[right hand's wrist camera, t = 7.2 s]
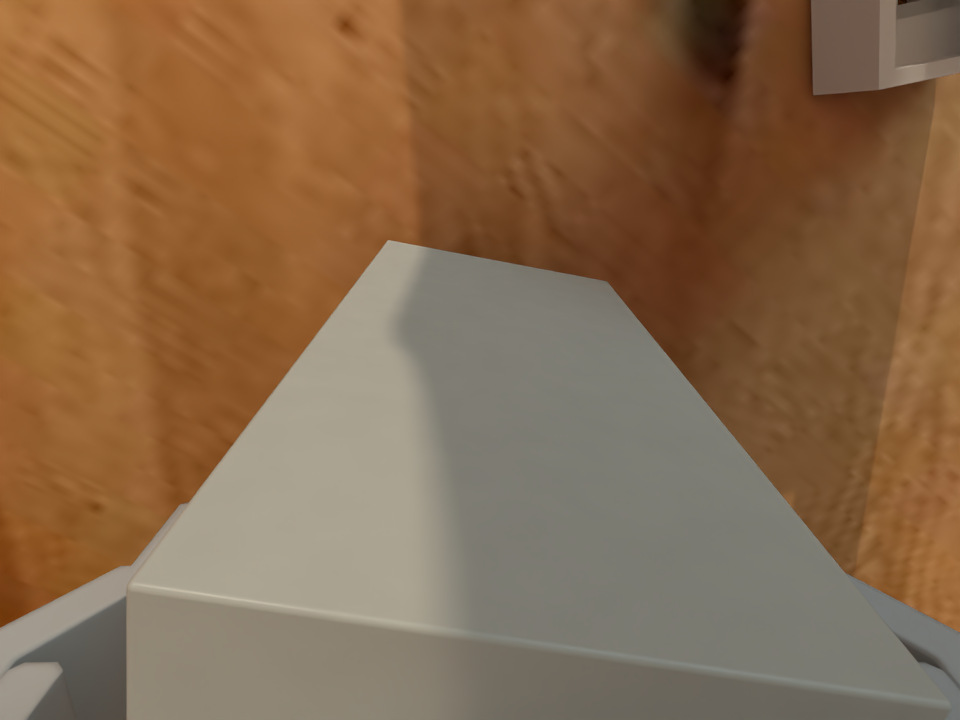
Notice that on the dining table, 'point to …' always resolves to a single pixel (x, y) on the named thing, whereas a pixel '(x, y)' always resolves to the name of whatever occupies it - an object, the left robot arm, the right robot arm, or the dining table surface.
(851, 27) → the white angled block
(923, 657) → the right robot arm
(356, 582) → the box
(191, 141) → the dining table surface
